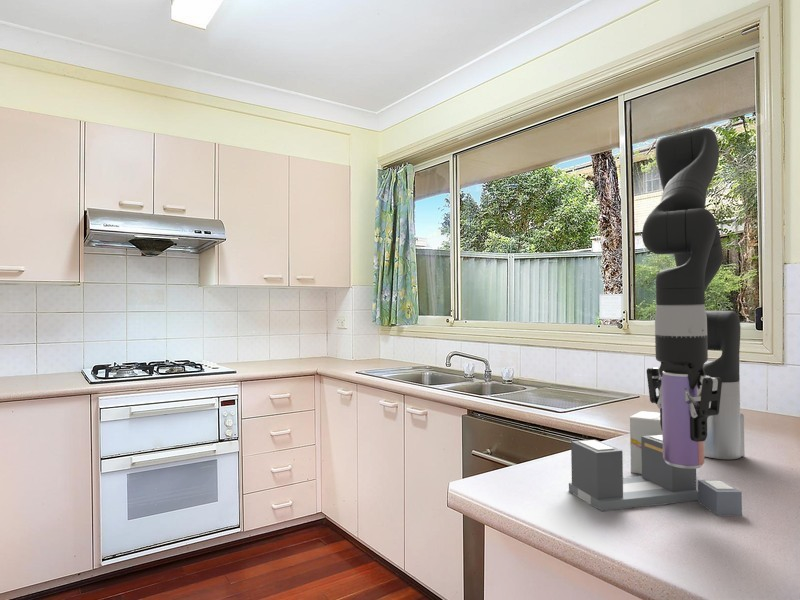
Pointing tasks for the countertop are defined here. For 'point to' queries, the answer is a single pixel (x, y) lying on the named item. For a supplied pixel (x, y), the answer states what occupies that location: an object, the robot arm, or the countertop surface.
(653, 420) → the ink box
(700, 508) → the countertop surface
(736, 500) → the block
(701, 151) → the robot arm
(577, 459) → the grey u-shaped block
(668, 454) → the beverage can
